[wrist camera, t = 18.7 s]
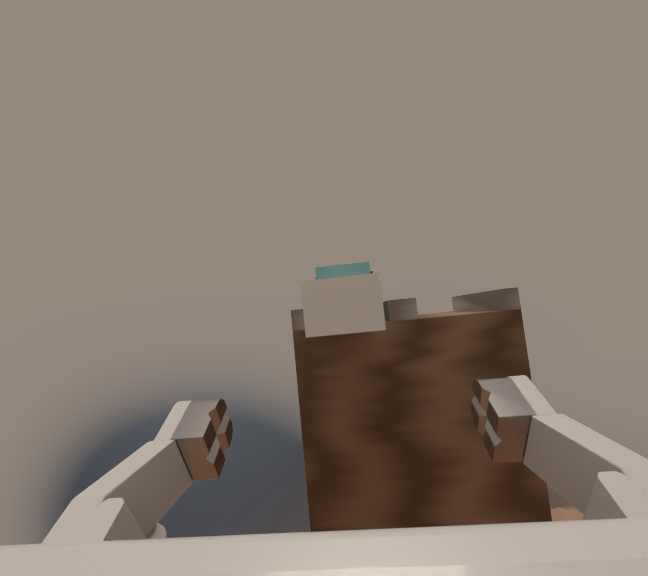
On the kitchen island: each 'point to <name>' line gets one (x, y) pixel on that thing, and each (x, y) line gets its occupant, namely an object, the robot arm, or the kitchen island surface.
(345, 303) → the teal and white bar
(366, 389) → the wooden desk organizer
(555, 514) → the kitchen island surface
